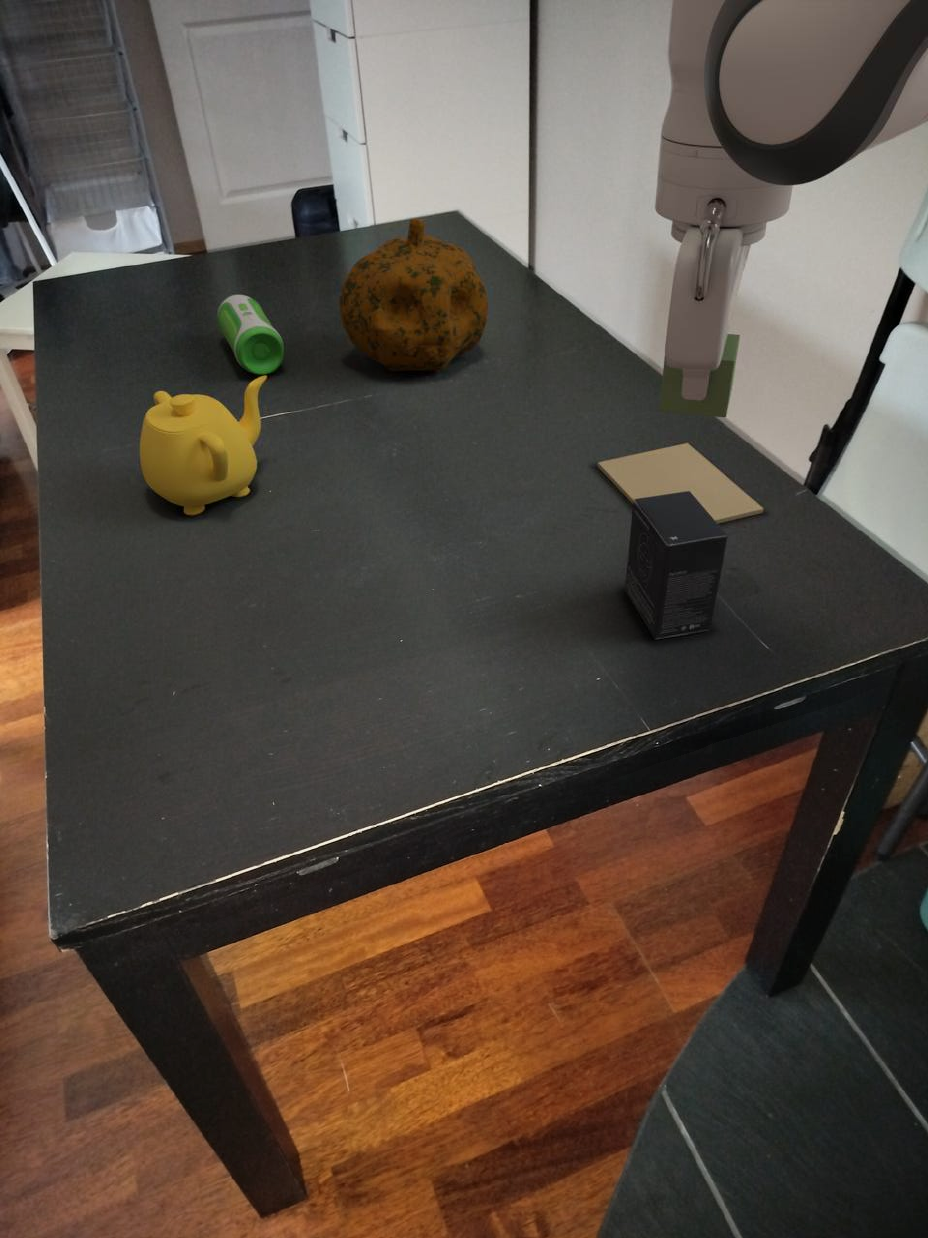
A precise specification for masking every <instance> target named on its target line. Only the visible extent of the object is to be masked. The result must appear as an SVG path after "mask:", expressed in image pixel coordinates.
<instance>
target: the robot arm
mask: <svg viewBox="0 0 928 1238" xmlns="http://www.w3.org/2000/svg"><path fill="white" fill-rule="evenodd" d="M670 9H671V10H670V20H669V30H668V41H667V42H668V43H667V55H666V56H667V64H668V70H669V75H670V93H669V94H670V95H669V99H668V105H667V109H666V112H665V115H664V117H663V121H662V124H661V130H660V143H659V149H658V150H659V151H658V153H659V154H658V163H657V177H656V190H655V202H654V209H655V212H656V213H657V214H658V215H659V216H661V217H662V218H664V219H665V220H669V221H671V229H670V235H671V237H672V238H673V239H674V240H675V241H677V242H678V243H680V246H679V249H678V253H677V257H676V260H675V261H676V262H675V266H674V271H673V277H672V284H671V285H672V286H671V291H670V292H671V294H670V301H669V309H668V318H667V326H666V336H665V343H664V358H665V360H666V364H667V365H668V366H669V367H671V368H678V369H682V371H683V382H682V391H681V395H682V397H683V398H685V399H688V400H699V401H700V400H703V399H704V398H705V397H706V394H707V389H708V383H709V376H710V371H712V370H715V369H717V368H718V367H719V365H720V362H721V359H722V356H723V352H724V347H725V343H726V339H727V335H728V334H729V331H730V326H731V322H732V319H733V314H734V310H735V306H736V303H737V297H738V294H739V290H740V286H741V282H742V278H743V274H744V270H745V267H746V264H747V261H748V258H749V254H750V250H751V247H752V245H754V244H756V243H759V242H760V241H762V240H763V239H764V238H765V236H766V231H767V223H769V222H772V221H775V220H777V219H780V218H782V217H784V216H785V215H786V214H787V213H788V211H789V209H790V204H791V198H792V193H793V187H794V186H798V185H804V184H805V185H806V184H808V183H812V182H814V181H817V180H819V179H822V178H823V177H826V176H827V175H829V174H831V173H833V172H834V171H836V170H837V169H839V168H840V167H842V166H844V165H845V164H847V163H848V162H850V161H852V160H853V159H855V158H856V157H857V156H859V155H860V154H862V153H864V152H867V151H869V150H871V149H873V148H875V147H878V146H880V145H882V144H884V143H887V142H889V141H891V140H894V139H896V138H897V137H900V136H901V135H903V134H905V133H907V132H910V131H912V130H914V129H915V128H918V127H920V126H922V125H923V124H926V123H927V122H928V0H672V1H671V8H670Z"/></svg>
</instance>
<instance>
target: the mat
mask: <svg viewBox="0 0 928 1238" xmlns="http://www.w3.org/2000/svg"><path fill="white" fill-rule="evenodd" d="M597 468H598V469H599V470H600V471H601V472H602V473H603V474H604V475H605V476H606V477H607V478H608V479H609V481H611V483H612V484H613V485H614V486H615V487H616V488H617V489H618V490H619V492H621V493H622V494H623V496H624V497H625V498H626V499H627V500H628V501H629V502H630V503H631V504H632V505H633V501H634V500H635V499H638V498H645V497H652V496H659V495H665V494H672V493H678V492H686V491H690V492H691V493H692V494H693V495H694V497H695V498H696V499H697V500H698V501H699V502H700V504H701V505H702V506H703V507H704V508H705V509H706V511H707V512H708V513H709V514H710V515H711V517H712V518H713V519H714V520H715V521H716V522H717V524H718V525H719V524H722V523H727V522H731V521H735V520H739V519H743V518H744V519H745V518H747V517H748V518H749V517H752V516H755V515H759V514H763V513H764V507H762V506H761V505H760V504H759V503H758V502H757V501H756V500H754V499H753V498H752V497H751V496H750V495H748V494H747V492H745V491H744V490H743V489H741V487H739V486H738V485H737V484H736V483H735V482H733V481H732V480H731V478H729V477H727V476H726V475H725V473H724V472H722V471H721V470H720V469H718V468H717V467H716V465H714V464H713V463H711V461H709V460H708V459H707V458H706V457H704V455H702V454H701V453H700V452H699V451H698V450H697V449H696V448H694V447H693V446H692V445H691V444H689V442H686V443H680V444H676V445H671V446H667V447H662V448H658V449H653V450H649V451H644V452H639V453H634V454H629V455H626V456H620V457H617V458H612V459H608V460H604V461H599V462H597Z"/></svg>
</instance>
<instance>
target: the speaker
mask: <svg viewBox="0 0 928 1238" xmlns="http://www.w3.org/2000/svg"><path fill="white" fill-rule="evenodd" d="M216 318H217V319H216V320H217V324H218V328H219V330H220V332H221V333H222V335H223V336H224V338H225V339H226V341H227V343H228V345H229V347H230V349H231V350H232V353H233V355H234V357H235V360H236V362H237V364H239V366H240V367H242V368H243V369H244V370H246V371H247V372H249V373H251V374H254V375H258V376H267V375H269V374H271V373H274V372H275V371H276V370H277V369H278V368H279V367H280V366H281V364H282V363H283V361H284V355H285V346H284V341H283V338H282V335H281V334H280V332H278V331H277V329H276V328H274V326H273V324H272V323H271V322H270V320H269V319H268V317H267V316H266V314H265V313H264V310H263V308H262V307H261V305H260V304H259V303H258V302H257V301H256V300H255V299H253V298H252V297H250V296H248V295H244V294H232V295H230V296H227V297H226V298H224V300H222V302H221V303H220V304H219V307H218V310H217V316H216Z"/></svg>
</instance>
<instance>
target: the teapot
mask: <svg viewBox="0 0 928 1238" xmlns="http://www.w3.org/2000/svg"><path fill="white" fill-rule="evenodd" d="M267 378H268V376H267V375H260V376H258V377H257V378H255V379H254V380H251V382H249V384H248V385H247V386H246V388H245V392H244V395H243V396H244V399H243V401H244V403H243V404H244V410H243V415H242V416H241V418H240V420H239V421H238V420H237V419H236V418H235V416H234V415H233V414H232V412H230V410H229V409H228V408H227V407H226V406H225V405H224V404H223V403H222V402H221V401H219V400H217V399H216V398H214V397H211V396H208V395H205V394H189V393H182V394H177V395H175V396H171V395H170V394H169V393H168V392H167V391H165V390H158V391H156V392H154V394H153V401H154V404H155V405H154V406H152V407H150V408H149V409H148V410H147V412H146V413H145V415H144V418H143V421H142V422H143V423H142V428H141V433H140V442H139V459H140V467H141V472H142V476H143V478H144V481H145V483H146V484H147V486H149V488H150V489H151V490H152V491H153V492H154V493H156V494H157V495H159V496H160V498H163V499H165V500H166V501H168V502H170V503H172V504H174V505H176V506H181V507H183V513H184V514H185V515H187V516H195V515H198V514H199V515H200V514H201V513H202V512H204V511H205V508H206V507H205V505H210V504H212V503H215V502H218V501H220V500H223V499H226V498H228V497H234V498H241V497H245V496H247V495H248V494H249V493H250V492H251V489H250V488H249V487H248V486H249V485H250V484H251V483H252V480H253V479H254V477H255V475H256V472H257V468H258V459H257V456H256V452H255V449H254V447H253V446H255V444H256V443H257V441H258V439H259V437H260V435H261V430H262V420H261V415H260V409H259V392H260V389H261V387H262V385H263V384H264V383H265V381H266V380H267Z"/></svg>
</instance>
